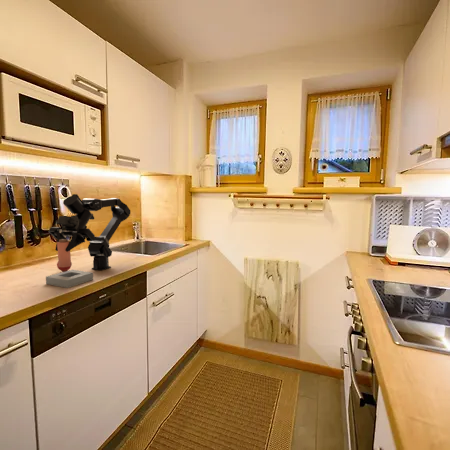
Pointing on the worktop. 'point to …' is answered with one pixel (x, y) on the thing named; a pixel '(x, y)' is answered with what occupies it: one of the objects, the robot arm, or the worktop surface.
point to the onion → (64, 268)
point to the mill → (63, 253)
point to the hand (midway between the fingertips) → (61, 250)
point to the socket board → (69, 278)
